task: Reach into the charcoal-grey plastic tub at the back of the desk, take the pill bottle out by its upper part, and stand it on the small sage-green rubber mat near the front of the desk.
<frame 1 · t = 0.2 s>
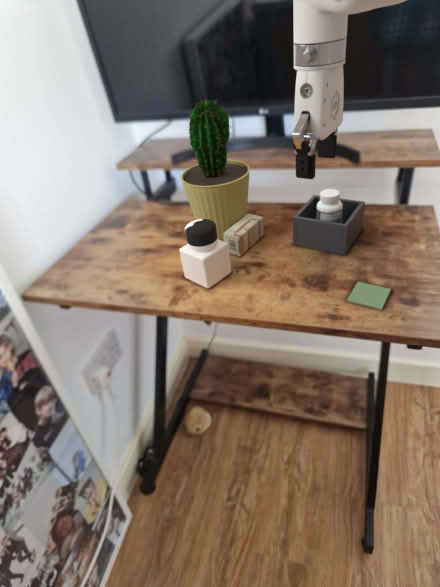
hand: (316, 167, 70), 20 cm above the table, tool pointing down, fingers open, 9 cm apart
mat: (369, 296, 72), on the table
medicine bottle: (208, 276, 84), on the table
potted cactus: (222, 231, 98), on the table
tub: (327, 237, 90), on the table
pill bottle: (328, 234, 90), point 1 cm above the table, touching tub
small printed carton: (231, 246, 87), point 2 cm above the table
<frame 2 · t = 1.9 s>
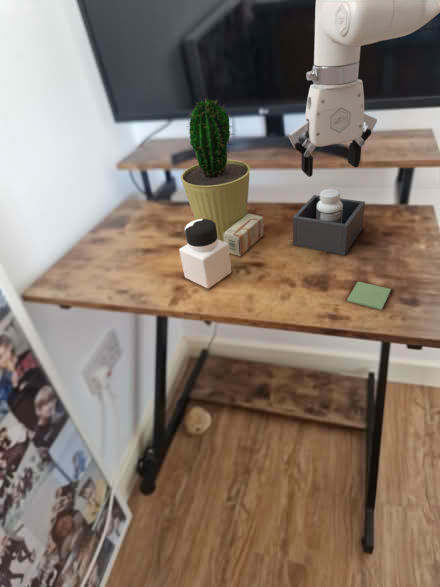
hand: (330, 169, 81), 15 cm above the table, tool pointing down, fingers open, 9 cm apart
nothing on the table moved.
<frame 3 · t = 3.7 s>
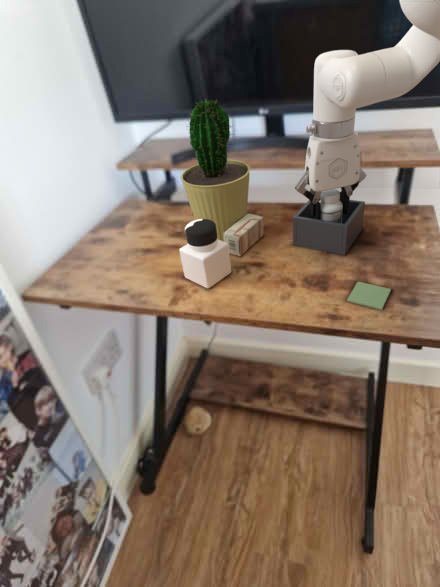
hand: (329, 214, 86), 6 cm above the table, tool pointing down, fingers closed on pill bottle, 5 cm apart
pill bottle: (328, 234, 90), point 1 cm above the table, touching gripper, tub
everything else where it was.
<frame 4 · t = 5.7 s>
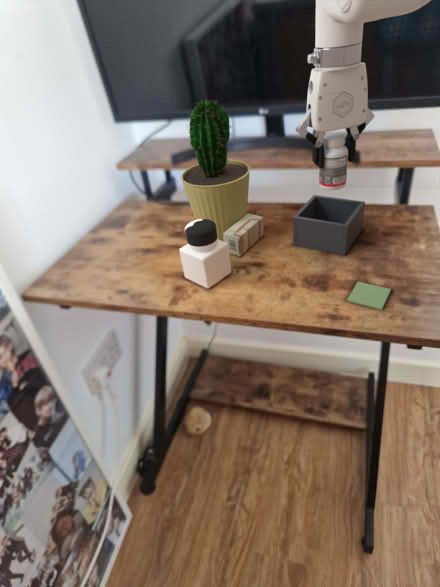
hand: (333, 161, 79), 17 cm above the table, tool pointing down, fingers closed on pill bottle, 5 cm apart
pill bottle: (332, 186, 82), point 12 cm above the table, touching gripper
everything else where it was.
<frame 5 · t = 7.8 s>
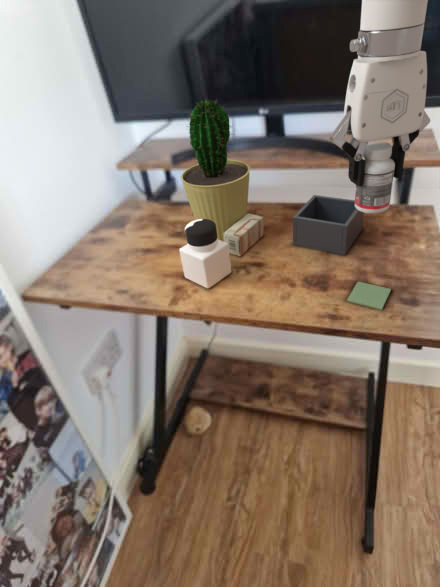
hand: (374, 178, 62), 21 cm above the table, tool pointing down, fingers closed on pill bottle, 5 cm apart
pill bottle: (371, 207, 65), point 16 cm above the table, touching gripper
everything else where it was.
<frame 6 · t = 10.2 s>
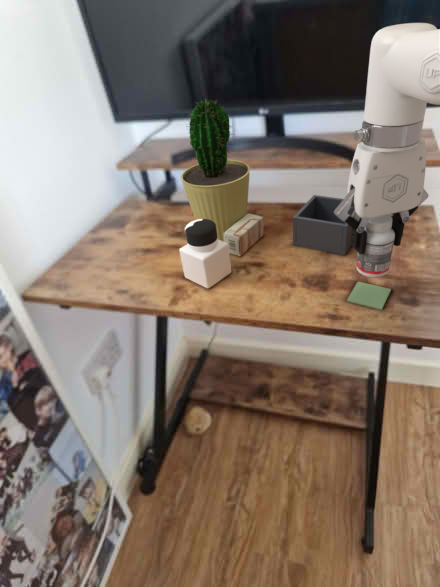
hand: (375, 245, 66), 11 cm above the table, tool pointing down, fingers closed on pill bottle, 5 cm apart
pill bottle: (372, 270, 69), point 6 cm above the table, touching gripper
everything else where it was.
when the fingers open (5 cm above the table, at t = 11.9 s): pill bottle stays where it is, resting on mat.
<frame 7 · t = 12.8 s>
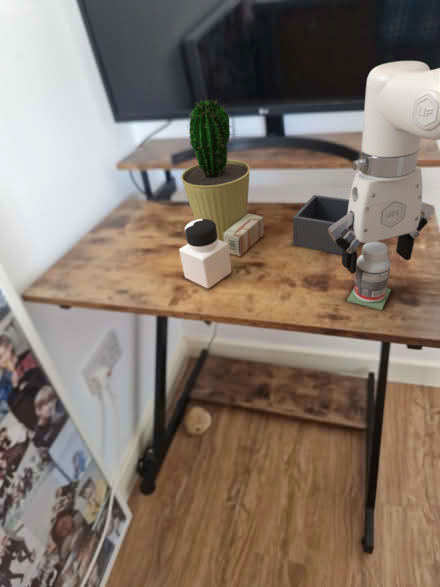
hand: (376, 262, 68), 7 cm above the table, tool pointing down, fingers open, 9 cm apart
pill bottle: (369, 295, 72), resting on mat
everything else where it was.
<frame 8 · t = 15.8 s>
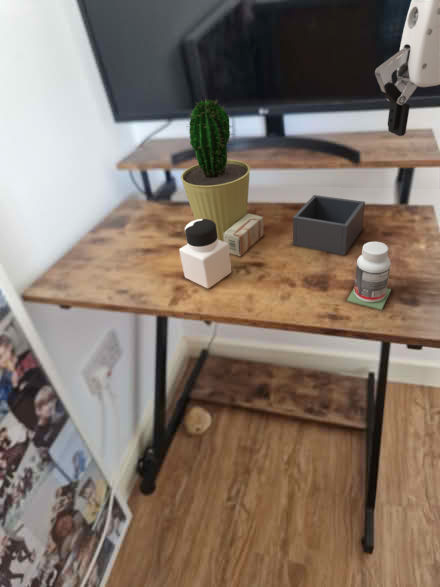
hand: (428, 126, 56), 28 cm above the table, tool pointing down, fingers open, 9 cm apart
nothing on the table moved.
at the end: pill bottle 0.0 cm off-centre on the mat, point 0.2 cm above the mat's base; pill bottle tilted 0°; pill bottle touching mat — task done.
